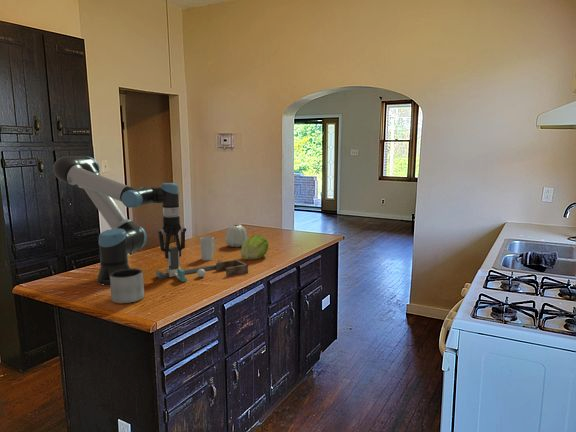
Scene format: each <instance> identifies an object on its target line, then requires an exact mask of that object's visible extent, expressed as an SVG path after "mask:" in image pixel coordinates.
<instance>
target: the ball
mask: <svg viewBox="0 0 576 432" xmlns="http://www.w3.org/2000/svg"><path fill="white" fill-rule="evenodd" d="M196 276H197V277H199V278H204V277H206V271H205V270H204V269H199V270H198V271H197V272H196Z"/></svg>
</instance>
